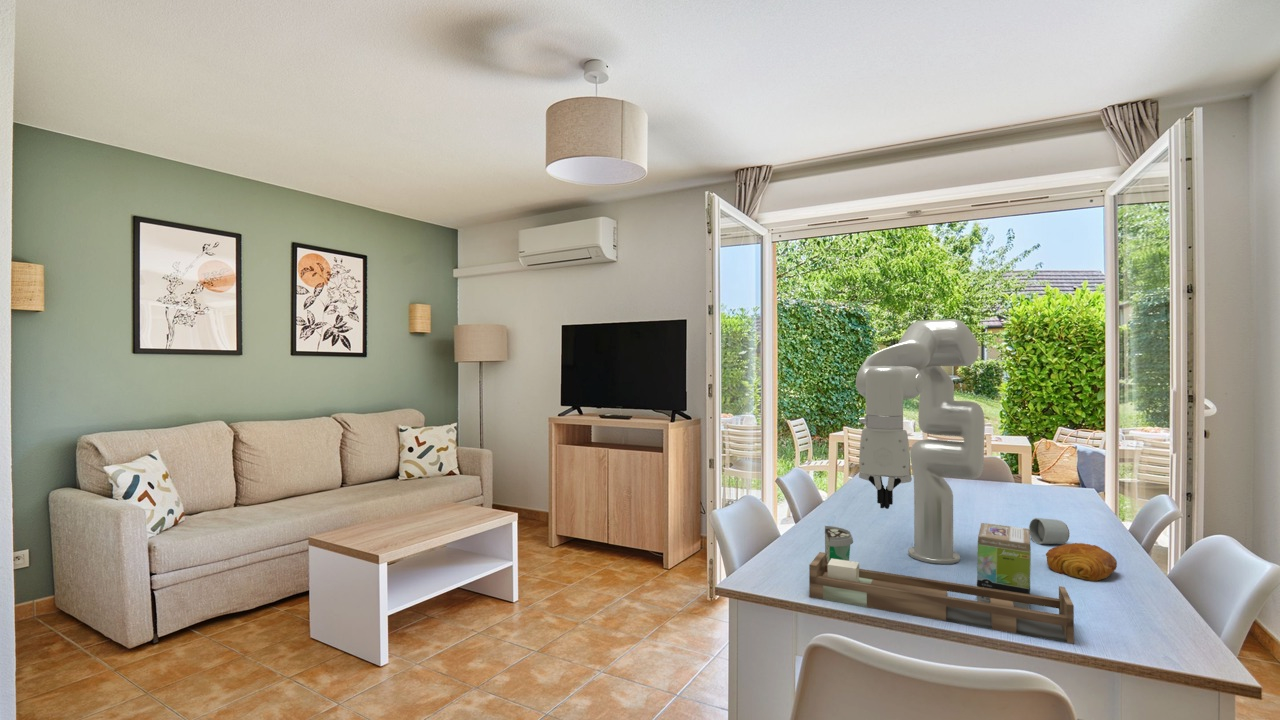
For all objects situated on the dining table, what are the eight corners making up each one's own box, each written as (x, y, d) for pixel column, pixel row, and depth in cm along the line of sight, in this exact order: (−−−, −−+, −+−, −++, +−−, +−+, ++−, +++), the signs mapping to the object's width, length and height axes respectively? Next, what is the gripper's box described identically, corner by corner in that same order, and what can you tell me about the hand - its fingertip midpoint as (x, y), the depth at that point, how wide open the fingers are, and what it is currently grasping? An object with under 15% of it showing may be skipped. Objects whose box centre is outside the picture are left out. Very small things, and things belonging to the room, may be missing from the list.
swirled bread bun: (1124, 582, 151) (1126, 549, 152) (1104, 586, 141) (1107, 552, 142) (1057, 565, 162) (1059, 535, 163) (1035, 568, 153) (1037, 537, 154)
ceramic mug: (1072, 547, 174) (1071, 521, 174) (1045, 547, 173) (1044, 521, 174) (1047, 538, 184) (1046, 513, 184) (1021, 538, 184) (1021, 513, 184)
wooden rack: (819, 581, 143) (819, 552, 144) (1065, 622, 121) (1064, 587, 121) (809, 596, 134) (809, 565, 134) (1073, 643, 111) (1073, 605, 111)
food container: (856, 581, 144) (856, 539, 144) (829, 579, 145) (829, 537, 145) (849, 565, 156) (849, 526, 156) (824, 563, 157) (824, 525, 157)
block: (831, 575, 139) (831, 558, 139) (859, 580, 136) (858, 562, 136) (827, 582, 134) (827, 564, 134) (856, 587, 131) (856, 568, 132)
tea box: (1031, 614, 125) (1031, 542, 125) (976, 604, 130) (975, 535, 130) (1030, 592, 138) (1029, 526, 138) (979, 583, 143) (979, 520, 143)
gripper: (845, 423, 132) (846, 507, 132) (920, 426, 125) (921, 515, 125) (851, 420, 139) (852, 500, 139) (923, 423, 132) (923, 507, 132)
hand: (885, 507), depth 132 cm, fingers closed
